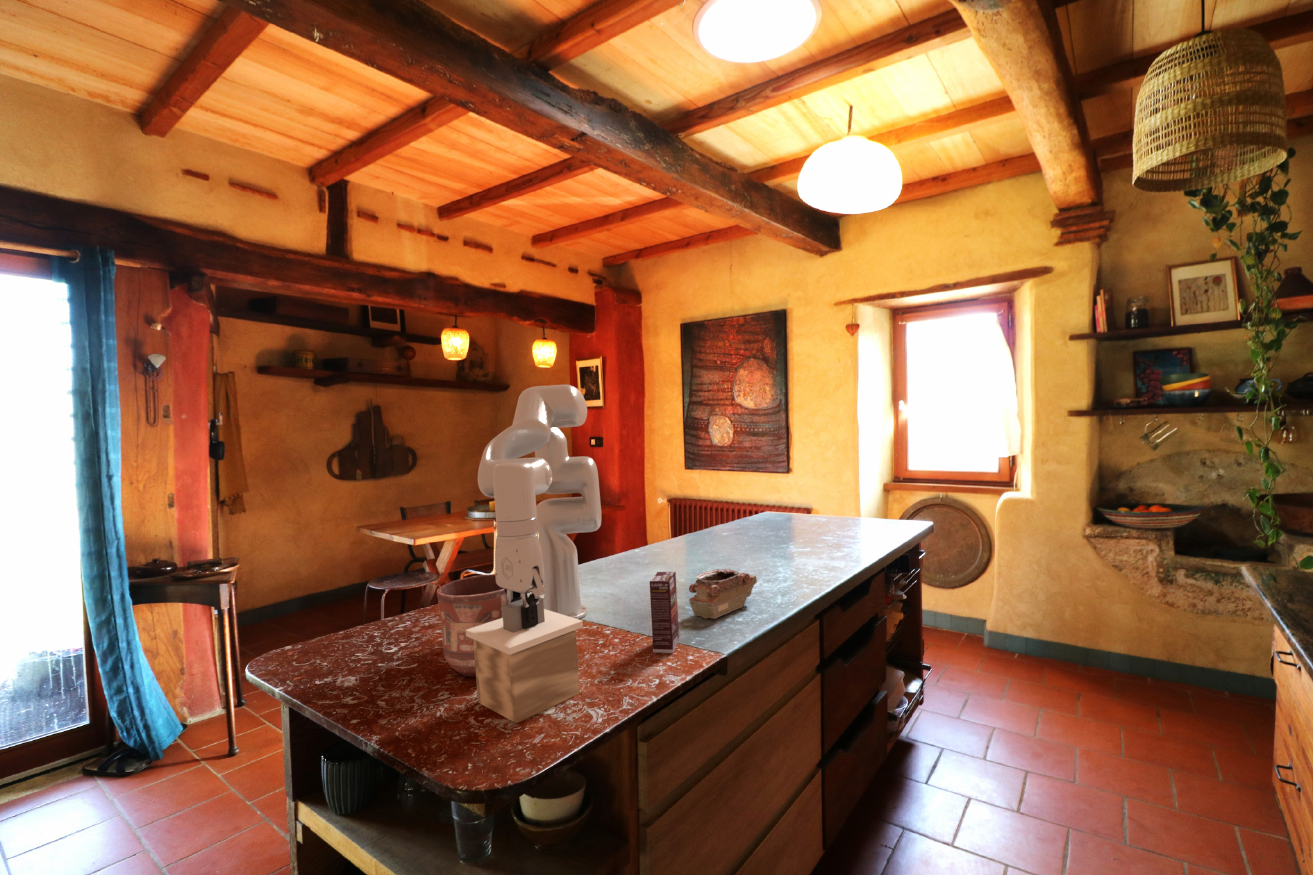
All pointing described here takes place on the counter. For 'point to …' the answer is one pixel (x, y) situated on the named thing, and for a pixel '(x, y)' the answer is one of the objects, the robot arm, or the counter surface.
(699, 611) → the decorative box
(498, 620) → the lid
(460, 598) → the pottery
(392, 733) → the counter surface
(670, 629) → the supplement box
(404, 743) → the counter surface
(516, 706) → the box
